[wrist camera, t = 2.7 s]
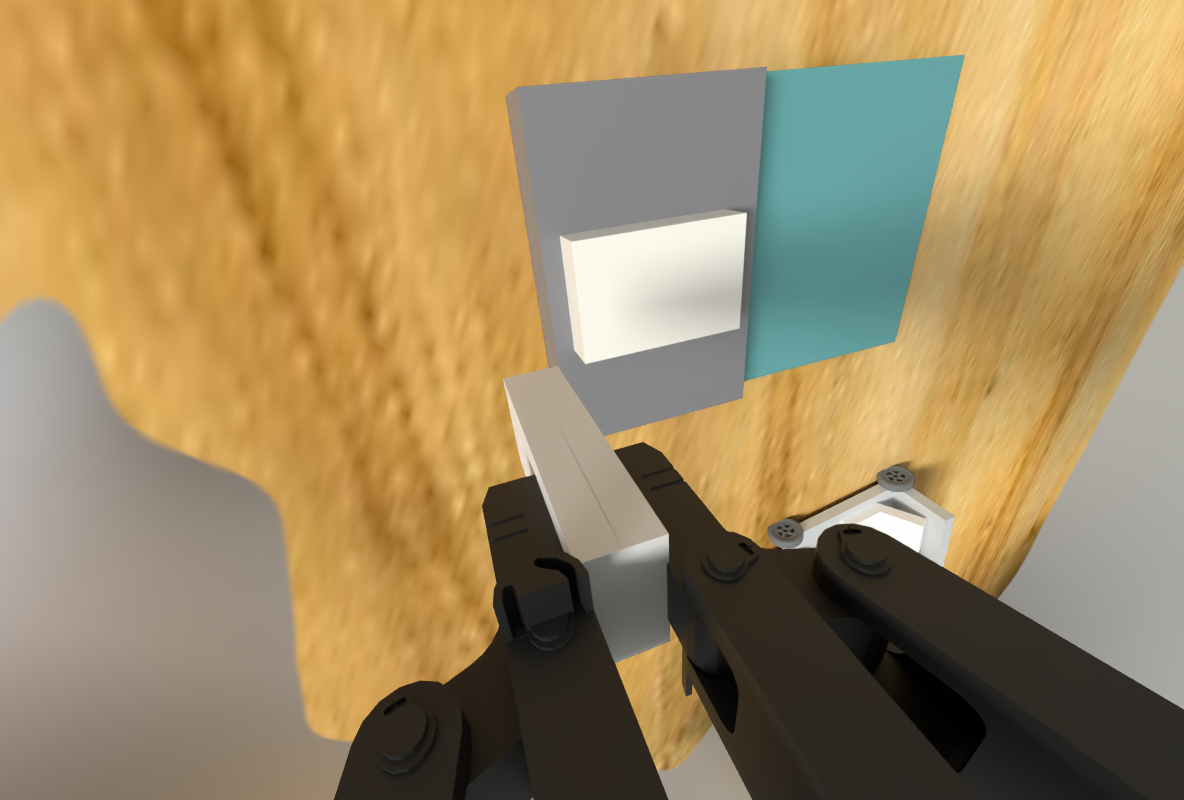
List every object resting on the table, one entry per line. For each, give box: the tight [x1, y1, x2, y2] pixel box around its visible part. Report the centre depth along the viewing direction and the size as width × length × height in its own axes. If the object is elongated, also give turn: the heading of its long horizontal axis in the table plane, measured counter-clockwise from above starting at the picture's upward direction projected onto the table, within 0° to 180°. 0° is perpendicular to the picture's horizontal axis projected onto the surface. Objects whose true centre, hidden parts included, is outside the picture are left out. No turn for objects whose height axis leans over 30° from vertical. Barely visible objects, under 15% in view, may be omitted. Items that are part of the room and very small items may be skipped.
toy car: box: [768, 465, 955, 567], centre depth 43 cm, size 18×10×12 cm
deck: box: [506, 67, 767, 436], centre depth 26 cm, size 18×12×3 cm, turn 6°
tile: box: [560, 209, 747, 364], centre depth 24 cm, size 6×9×2 cm, turn 96°
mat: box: [744, 55, 965, 381], centre depth 30 cm, size 18×14×1 cm
